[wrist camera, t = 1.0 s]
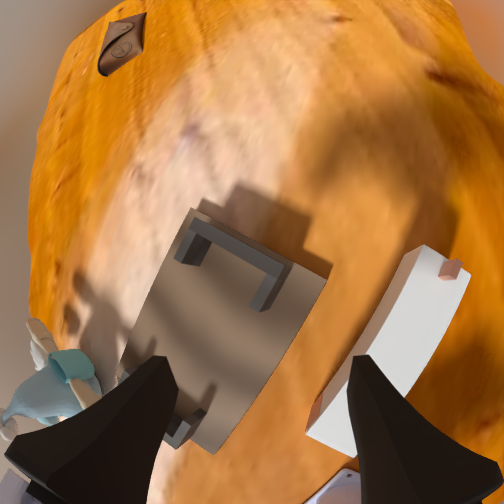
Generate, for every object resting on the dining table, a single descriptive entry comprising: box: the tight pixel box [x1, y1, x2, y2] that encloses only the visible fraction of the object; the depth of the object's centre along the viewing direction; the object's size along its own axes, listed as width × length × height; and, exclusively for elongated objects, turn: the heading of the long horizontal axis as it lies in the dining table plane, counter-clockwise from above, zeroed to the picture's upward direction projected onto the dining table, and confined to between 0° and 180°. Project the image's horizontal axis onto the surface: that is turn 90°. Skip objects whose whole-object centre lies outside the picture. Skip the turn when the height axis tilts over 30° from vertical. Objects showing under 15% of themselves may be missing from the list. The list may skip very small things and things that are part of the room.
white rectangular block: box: [305, 244, 471, 458], centre depth 16 cm, size 14×4×8 cm, turn 150°
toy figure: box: [0, 318, 102, 442], centre depth 20 cm, size 17×10×15 cm, turn 60°
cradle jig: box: [115, 208, 327, 455], centre depth 21 cm, size 19×13×4 cm
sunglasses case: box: [97, 12, 146, 77], centre depth 34 cm, size 18×7×7 cm
